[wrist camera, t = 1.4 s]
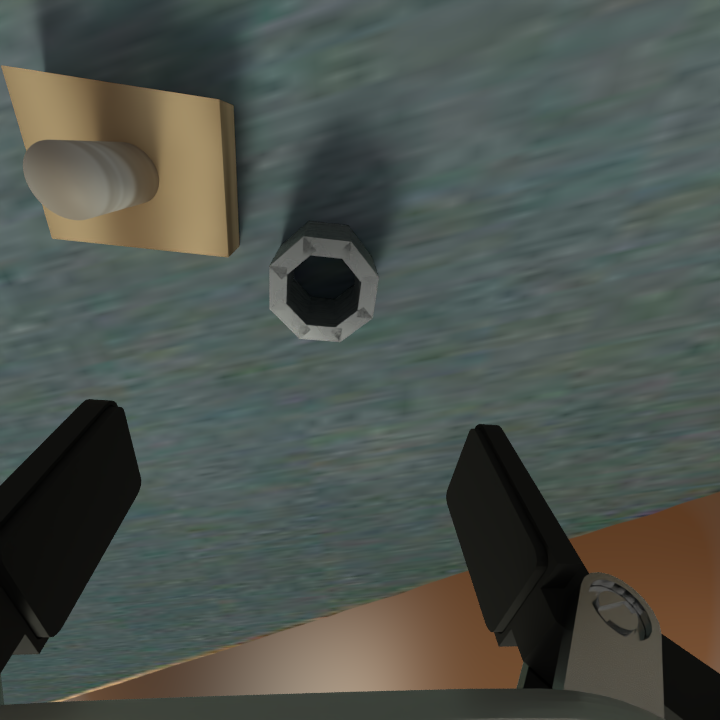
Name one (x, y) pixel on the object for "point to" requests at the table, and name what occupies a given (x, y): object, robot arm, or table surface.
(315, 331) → the tube
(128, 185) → the shaft block
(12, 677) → the table surface
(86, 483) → the robot arm
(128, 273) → the table surface
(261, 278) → the table surface
